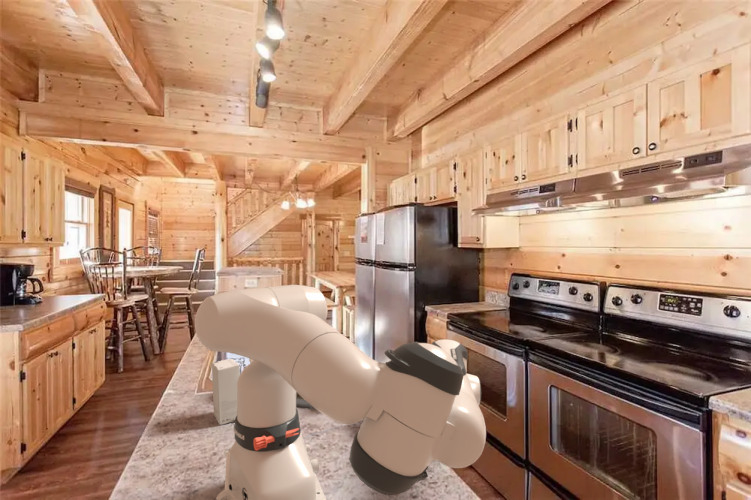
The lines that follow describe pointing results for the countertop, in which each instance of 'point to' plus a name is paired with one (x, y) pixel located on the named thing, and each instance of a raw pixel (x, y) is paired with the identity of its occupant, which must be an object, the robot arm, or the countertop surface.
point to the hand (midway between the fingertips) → (370, 380)
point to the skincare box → (225, 390)
